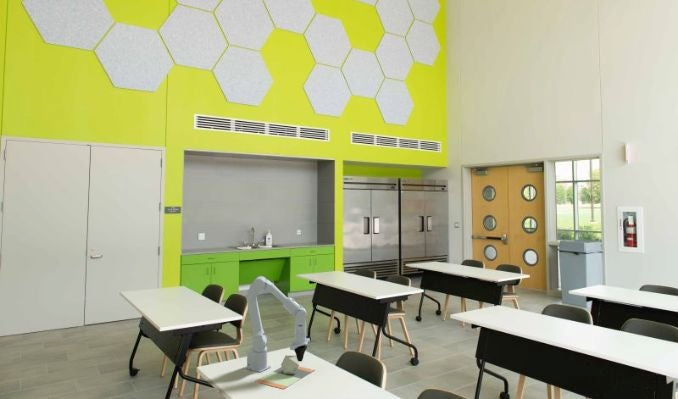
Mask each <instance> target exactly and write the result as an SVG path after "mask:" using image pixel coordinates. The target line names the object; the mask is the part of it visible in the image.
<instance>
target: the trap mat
mask: <svg viewBox="0 0 678 399" xmlns="http://www.w3.org/2000/svg"><path fill="white" fill-rule="evenodd" d="M314 370H315V369H311V368H307V367H303V366H299V367H298V369H297V371H296V374H284V371H283V369H282V366H281V367H279V368H277V369H276V370H273V371H271V372H269V373H268V374H266V375H264V376H261V377H260V378H258V379H256V380H254V383H258V384H262V385H265V386H270V387H274V388H277V389H279V390H280V389H281V390H285V389H287V388H288V387H290V386H291V385H293V384H295V383H296V382H298V381H300V380H301V379H303V378H305V377H306V376H308V375H309V374H312V373H313V372H315V371H314Z"/></svg>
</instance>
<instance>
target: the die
mask: <svg viewBox="0 0 678 399" xmlns="http://www.w3.org/2000/svg"><path fill="white" fill-rule="evenodd" d="M280 366H281V367H282V369H283V371H284V374H296V371H297V369H298V367H300V363H299V361H298V360H297V356H296V355H284V357H283V360H282V361H281V364H280Z"/></svg>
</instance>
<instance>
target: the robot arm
mask: <svg viewBox="0 0 678 399" xmlns="http://www.w3.org/2000/svg"><path fill="white" fill-rule="evenodd" d="M261 292H264V293H270V294H272V296H274V297H275V298H276V299H277V300H278V301H280V302H281V303H282V307H283V308H284V309H285V310H286V311H287V312H288V313H290V315H292V316H294V319H295V320H294V321H295V322H294V337H293V338H294V341H293V342H292V344H291V345H289V351H294V352H295V356H296V357H297V360H298V362H302V361H303V359H304V356H305V352H306V351H307V349H308V346H307V345H308V344H309V343H310V342H311V338H310V337H307V317H308V315H307V310H306V309H305V307H304V306H302V304H299V303H297V302H296V301H295V300H296V299H295V298H294V297H287V296H286V295H285V293H283V292H282V291H281V290H280V289H279V288H278V287H277V286H276V285H275V284H274V283H273V282H272V281H270V280H269V279H267V278H266V277H265V276H262V275H259V276H257V277H256V278H255V279H254V280H253V281H252V283H250V284H249V288H248V290H247V293H246V295H245V299H246V305H247V308H248V309H247V310H248V313H249V314H248V315H249V319H250V324H251V330H252V343H251V344H252V345H251V346H252V347H251V348H249V350H247V353H246V367H245V369H246V370H250V371H255V372H258V373H262V372H263V371H265V370H267V369H270V368H271V367H272V366H271V365H268V347H267V343H268V337H267V335H266V334H265V330H264V328H263V324H262V323H263V322H262V318H261V314H260V309H259V303H258V299H257V298H258V296H259V294H260V293H261Z"/></svg>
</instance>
